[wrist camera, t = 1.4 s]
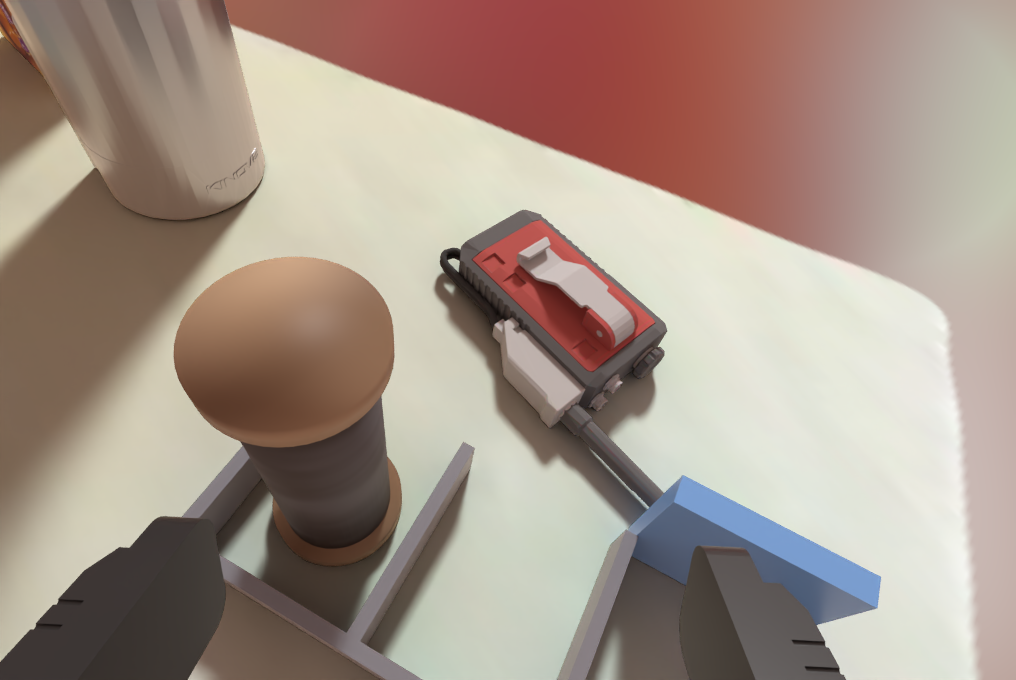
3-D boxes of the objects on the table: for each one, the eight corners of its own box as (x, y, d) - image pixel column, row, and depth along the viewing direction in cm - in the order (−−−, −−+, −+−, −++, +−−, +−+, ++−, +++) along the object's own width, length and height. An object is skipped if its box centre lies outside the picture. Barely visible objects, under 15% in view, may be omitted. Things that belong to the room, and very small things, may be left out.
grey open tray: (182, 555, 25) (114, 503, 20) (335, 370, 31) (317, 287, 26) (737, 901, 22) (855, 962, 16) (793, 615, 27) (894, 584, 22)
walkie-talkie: (409, 287, 36) (660, 551, 29) (408, 235, 32) (695, 524, 25) (517, 225, 39) (760, 445, 33) (527, 173, 36) (803, 408, 29)
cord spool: (249, 526, 26) (122, 365, 15) (327, 427, 30) (271, 229, 18) (355, 590, 26) (308, 471, 14) (424, 481, 29) (431, 309, 17)
